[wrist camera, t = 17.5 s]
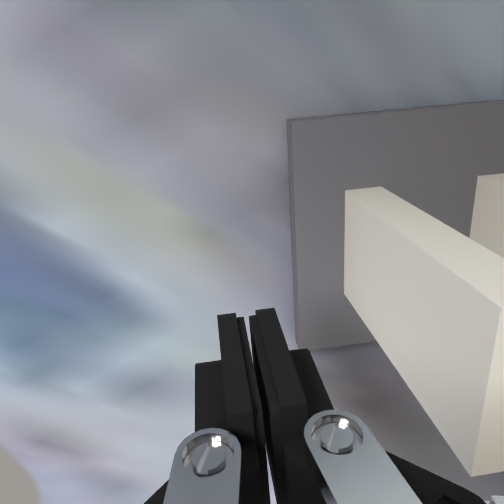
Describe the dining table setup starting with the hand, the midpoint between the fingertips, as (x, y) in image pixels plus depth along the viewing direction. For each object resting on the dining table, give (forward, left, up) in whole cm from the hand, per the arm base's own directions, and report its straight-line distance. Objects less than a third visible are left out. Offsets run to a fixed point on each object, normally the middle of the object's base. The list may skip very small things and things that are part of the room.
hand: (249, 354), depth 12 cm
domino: (+6, 0, -7) cm, 9 cm away
